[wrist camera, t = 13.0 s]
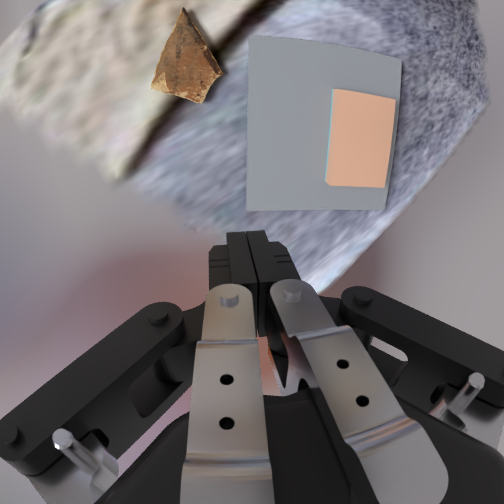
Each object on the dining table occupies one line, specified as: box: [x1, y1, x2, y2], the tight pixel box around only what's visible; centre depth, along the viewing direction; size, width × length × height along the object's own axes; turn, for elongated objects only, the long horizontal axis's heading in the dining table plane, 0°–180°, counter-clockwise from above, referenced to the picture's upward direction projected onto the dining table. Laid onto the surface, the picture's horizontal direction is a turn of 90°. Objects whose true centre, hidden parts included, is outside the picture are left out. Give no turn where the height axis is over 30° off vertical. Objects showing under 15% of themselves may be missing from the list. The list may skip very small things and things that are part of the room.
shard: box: [151, 7, 223, 103], centre depth 28 cm, size 11×8×2 cm
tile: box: [325, 89, 396, 188], centre depth 34 cm, size 12×2×8 cm
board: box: [246, 35, 402, 211], centre depth 34 cm, size 22×20×1 cm
